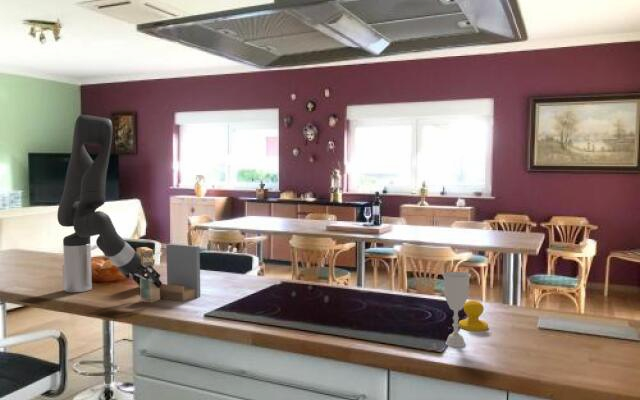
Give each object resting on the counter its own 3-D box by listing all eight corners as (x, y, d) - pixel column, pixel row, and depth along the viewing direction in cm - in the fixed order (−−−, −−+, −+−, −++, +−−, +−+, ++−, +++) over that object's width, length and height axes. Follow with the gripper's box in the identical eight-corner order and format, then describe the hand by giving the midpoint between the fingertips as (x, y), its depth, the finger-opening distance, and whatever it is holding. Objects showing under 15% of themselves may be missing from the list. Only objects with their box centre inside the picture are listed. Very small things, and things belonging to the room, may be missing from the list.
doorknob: (454, 328, 149) (463, 321, 156) (483, 332, 145) (491, 325, 151) (455, 302, 149) (464, 296, 155) (483, 306, 144) (491, 299, 151)
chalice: (465, 339, 139) (466, 271, 138) (474, 348, 132) (474, 277, 131) (438, 339, 139) (438, 272, 138) (445, 348, 132) (445, 277, 131)
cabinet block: (140, 301, 181) (139, 275, 180) (149, 298, 185) (148, 273, 184) (150, 302, 178) (150, 276, 178) (159, 300, 182) (159, 274, 182)
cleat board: (154, 297, 186) (153, 246, 185) (170, 292, 193) (169, 243, 192) (185, 301, 180) (184, 249, 178) (200, 296, 187) (199, 246, 185)
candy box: (154, 290, 197) (153, 249, 196) (143, 291, 195) (142, 250, 194) (148, 285, 204) (147, 246, 204) (136, 287, 202) (135, 247, 201)
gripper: (145, 248, 170) (171, 277, 181) (114, 245, 176) (141, 273, 187) (133, 267, 165) (160, 296, 176) (101, 264, 172) (130, 291, 183)
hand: (150, 284), depth 182 cm, fingers open, 8 cm apart
